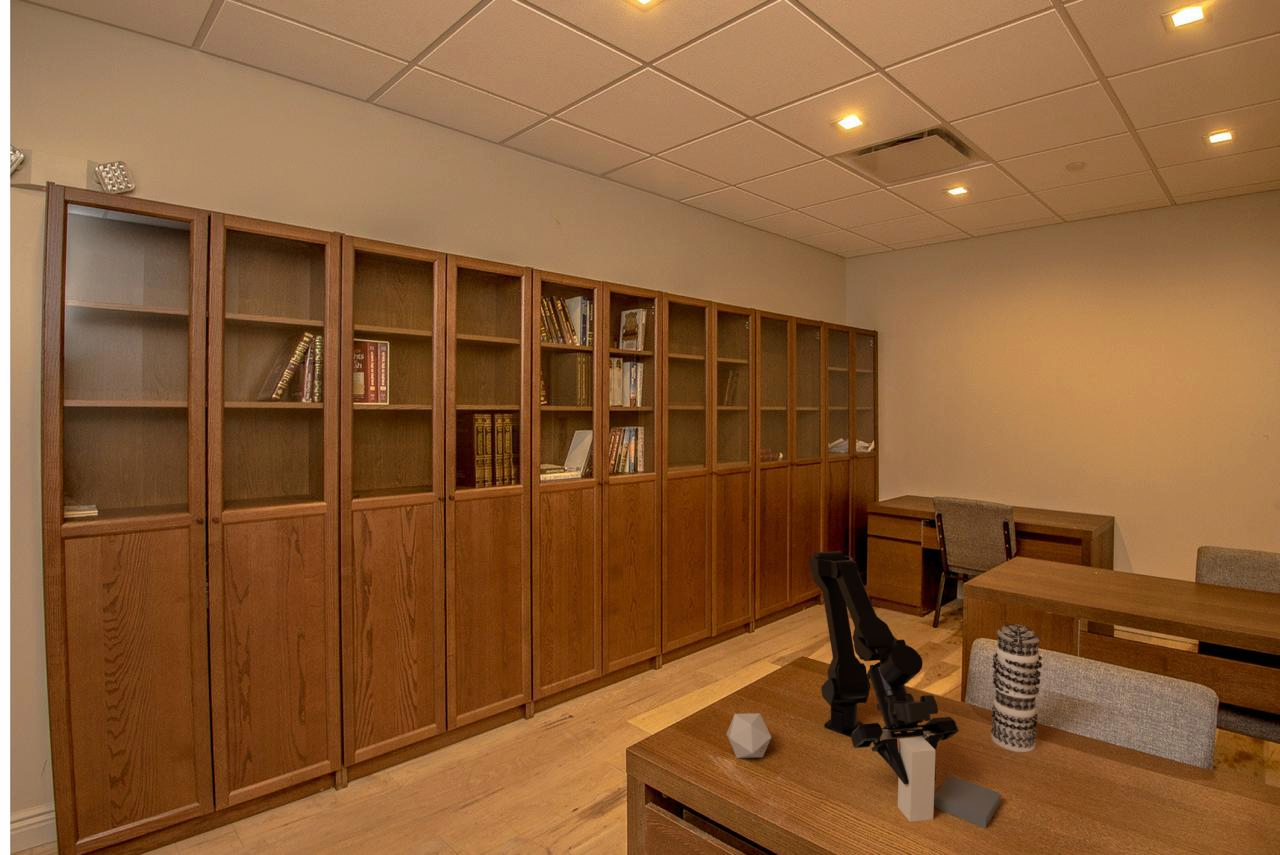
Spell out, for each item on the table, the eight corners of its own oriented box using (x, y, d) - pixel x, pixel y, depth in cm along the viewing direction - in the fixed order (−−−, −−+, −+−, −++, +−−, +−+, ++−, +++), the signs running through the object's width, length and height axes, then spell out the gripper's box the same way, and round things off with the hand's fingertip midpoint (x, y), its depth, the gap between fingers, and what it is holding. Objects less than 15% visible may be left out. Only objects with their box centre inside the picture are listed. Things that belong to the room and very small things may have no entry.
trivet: (949, 784, 136) (950, 774, 136) (1000, 803, 130) (1000, 793, 130) (932, 806, 129) (933, 796, 129) (985, 828, 123) (985, 817, 123)
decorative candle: (1048, 747, 148) (1054, 632, 146) (1016, 757, 145) (1022, 639, 142) (1010, 726, 157) (1015, 617, 154) (979, 735, 153) (984, 624, 151)
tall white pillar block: (897, 806, 129) (899, 738, 128) (920, 803, 130) (922, 736, 129) (910, 821, 125) (912, 752, 124) (933, 819, 126) (935, 750, 124)
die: (759, 774, 141) (783, 728, 143) (720, 749, 142) (744, 704, 144) (752, 766, 149) (774, 722, 151) (715, 742, 150) (738, 699, 152)
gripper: (859, 682, 128) (887, 776, 118) (955, 675, 130) (990, 766, 121) (840, 703, 136) (864, 791, 127) (930, 696, 139) (961, 782, 129)
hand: (920, 782), depth 126 cm, fingers open, 5 cm apart
